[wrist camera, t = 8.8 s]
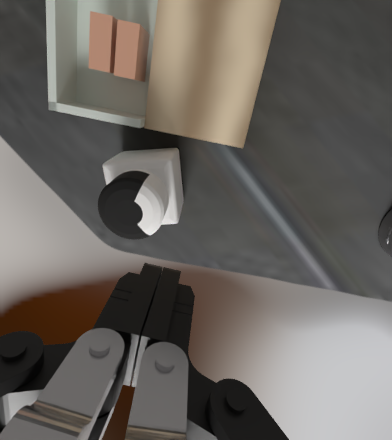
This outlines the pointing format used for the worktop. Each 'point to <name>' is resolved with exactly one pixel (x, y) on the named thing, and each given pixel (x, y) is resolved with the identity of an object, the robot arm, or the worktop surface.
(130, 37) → the tile
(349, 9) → the worktop surface
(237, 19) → the wooden slab
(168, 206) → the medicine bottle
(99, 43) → the tile
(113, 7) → the box
